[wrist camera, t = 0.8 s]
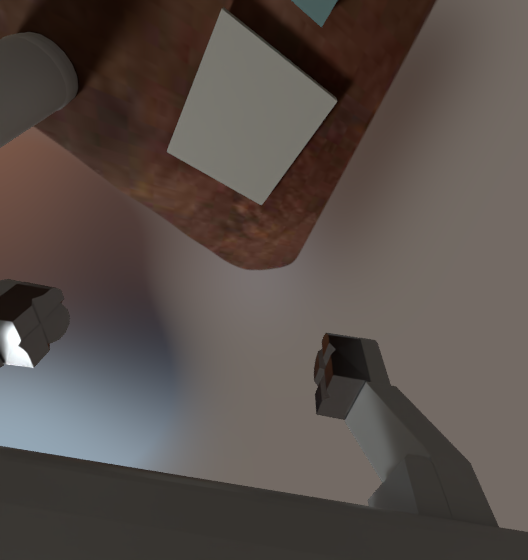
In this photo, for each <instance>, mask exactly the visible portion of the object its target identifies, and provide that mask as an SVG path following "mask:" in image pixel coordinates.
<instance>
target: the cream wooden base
mask: <svg viewBox="0 0 528 560" xmlns="http://www.w3.org/2000/svg"><path fill="white" fill-rule="evenodd" d="M336 103H337V98H336V97H335V96H334V95H333V94H331V93H330V92H329V91H328V90H326V89H325V88H324V87H323V86H321V85H320V84H319V83H318V82H316V81H315V80H314V79H313V78H311V77H310V76H309V75H308V74H306V73H305V72H304V71H303V70H301V69H300V68H299V67H298V66H296V65H295V64H294V63H293V62H291V61H290V60H289V59H288V58H286V57H285V56H284V55H283V54H281V53H280V52H279V51H278V50H276V49H275V48H274V47H273V46H271V45H270V44H269V43H268V42H266V41H265V40H264V39H263V38H262V37H260V36H259V35H258V34H257V33H255V32H254V31H253V30H252V29H250V28H249V27H248V26H247V25H245V24H244V23H243V22H242V21H240V20H239V19H238V18H237V17H235V16H234V15H233V14H232V13H230V12H229V11H228V10H227V9H225V8H224V7H223V8H222V9H221V12H220V15H219V17H218V20H217V22H216V25H215V28H214V30H213V33H212V35H211V38H210V41H209V43H208V46H207V48H206V51H205V54H204V56H203V59H202V61H201V64H200V67H199V69H198V72H197V74H196V77H195V79H194V82H193V85H192V87H191V90H190V92H189V95H188V98H187V100H186V103H185V105H184V108H183V111H182V113H181V116H180V118H179V121H178V124H177V126H176V129H175V131H174V134H173V137H172V139H171V142H170V144H169V147H168V149H167V152H168V153H170V154H172V155H173V156H175V157H177V158H179V159H181V160H182V161H184V162H186V163H188V164H189V165H191V166H193V167H195V168H196V169H198V170H200V171H202V172H203V173H205V174H207V175H209V176H211V177H212V178H214V179H216V180H218V181H219V182H221V183H223V184H225V185H226V186H228V187H230V188H232V189H233V190H235V191H237V192H239V193H241V194H242V195H244V196H246V197H248V198H249V199H251V200H253V201H255V202H256V203H258V204H260V205H262V204H263V203H264V201H265V200H266V199H267V197H268V196H269V195H270V193H271V192H272V190H273V189H274V188H275V186H276V185H277V184H278V182H279V181H280V179H281V178H282V177H283V175H284V174H285V173H286V171H287V170H288V168H289V167H290V166H291V164H292V163H293V162H294V160H295V159H296V157H297V156H298V155H299V153H300V152H301V151H302V149H303V148H304V146H305V145H306V144H307V142H308V141H309V140H310V138H311V137H312V136H313V134H314V133H315V131H316V130H317V129H318V127H319V126H320V125H321V123H322V122H323V120H324V119H325V118H326V116H327V115H328V114H329V112H330V111H331V109H332V108H333V107H334V105H335V104H336Z"/></svg>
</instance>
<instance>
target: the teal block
mask: <svg viewBox="0 0 528 560" xmlns="http://www.w3.org/2000/svg"><path fill="white" fill-rule="evenodd" d="M291 1H293V2H294V3H295V4H296V5H297V6H298V7H299V8H300V9H302V10H303V11H304V12H305V13H306V14H307V15H308V16H309V17H311V18H312V19H313V20H314V21H315V22H316V23H317V24H318V25H320V26H321V27H322V26H323V24H324V22H325V21H326V19H327V17H328V16H329V14H330V12H331V11H332V9H333V7H334V5H335V4H336V2H337V0H291Z"/></svg>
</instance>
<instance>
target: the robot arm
mask: <svg viewBox="0 0 528 560" xmlns="http://www.w3.org/2000/svg"><path fill="white" fill-rule="evenodd" d="M63 300H64V296H63V294H62V291H61V290H60V289H57V288H54V287H48V286H44V285H38V284H33V283H28V282H21V281H15V280H11V279H5V280H1V281H0V367H2V366H4V364H10V365H17V366H24V367H32V368H34V367H35V366H36V365H37V364H38V363H39V361H40V360H41V359H42V358H43V357H44V356H45V355H46V354H47V353H48V352H49V350H50V343H52V342H55V341H57V340H59V339H60V338H61V337H62V336H63V335H64V333H65V332H66V330H67V328H68V325H69V319H70V318H69V317H70V316H69V312H68V310H67V309H66V308H65V307H64V306H63V305H62V304H61V303H62V301H63ZM314 381H315V383H316V384H317V385H318V388H317V390H316V393H315V400H316V414H317V415H322V416H328V417H333V418H338V419H343V420H345V423H346V424H347V426H348V427H349V429H350V431H351V432H352V434H353V436H354V437H355V439H356V440H357V442H358V444H359V445H360V447H361V448H362V450H363V452H364V454H365V455H366V457H367V458H368V460H369V461H370V463H371V465H372V466H373V468H374V470H375V471H376V473H377V474H378V476H379V478H380V479H381V481H382V484H381V485H380V487H379V488H378V489H377V490H376V492H374V494H373V495H372V496H371V497H370V498H369V499H368V504H369V506H364V505H358V504H352V503H346V502H340V501H334V500H328V499H321V498H315V497H309V496H303V495H297V494H291V493H285V492H278V491H272V490H266V489H260V488H254V487H248V486H242V485H236V484H229V483H224V482H218V481H211V480H205V479H199V478H193V477H186V476H181V475H175V474H168V473H163V472H156V471H150V470H144V469H138V468H132V467H125V466H120V465H113V464H107V463H101V462H95V461H89V460H83V459H77V458H71V457H65V456H59V455H52V454H46V453H39V452H34V451H28V450H22V449H15V448H10V447H3V446H0V560H528V532H524V531H517V530H512V529H505V528H500V527H499V526H498V524H497V522H496V519H495V517H494V515H493V513H492V510H491V508H490V506H489V504H488V502H487V499H486V497H485V495H484V492H483V491H482V488H481V486H480V484H479V481H478V479H477V477H476V475H475V472H474V470H473V468H472V466H471V463H470V462H469V461H468V460H467V459H466V458H465V457H464V456H463V455H462V454H461V453H460V452H459V451H458V450H457V449H456V448H455V447H454V446H453V445H452V444H451V443H450V442H449V441H448V439H447V438H446V437H444V435H443V434H442V433H441V432H440V431H439V430H438V429H437V428H436V427H435V426H434V425H433V424H432V423H431V422H430V421H429V420H428V419H427V418H426V417H425V416H424V415H423V414H422V413H421V412H420V411H419V410H418V409H417V408H416V407H415V406H414V405H413V404H412V403H411V401H410V400H409V399H408V398H407V397H406V396H404V394H403V393H402V392H401V391H400V390H399V389H398V388H397V387H395V386H391V384H390V381H389V378H388V375H387V372H386V369H385V365H384V362H383V359H382V356H381V353H380V349H379V346H378V343H377V342H376V341H375V340H371V339H364V338H357V337H350V336H343V335H338V334H331V333H326V334H325V335H324V337H323V339H322V349H321V350H320V351H318V353H317V357H316V361H315V367H314Z"/></svg>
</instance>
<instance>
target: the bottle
mask: <svg viewBox="0 0 528 560" xmlns="http://www.w3.org/2000/svg"><path fill="white" fill-rule="evenodd" d="M77 91H78V79H77V75H76V72H75V70H74V67H73V64H72V63H71V61H70V60H69V59H68V57H67V56H66V54H65V53H64V51H62V50H61V49H60V48H59V47H58V46H57V45H56V44H55V43H54V42H53V41H51V40H50V39H48V38H46V37H44V36H43V35H41V34H37V33H33V32H25V33H17V34H13V35H9V36H6V37H3V38H2V39H0V147H2V146H4V145H5V144H7V143H8V142H10V141H11V140H13V139H14V138H16V137H17V136H19V135H20V134H22V133H23V132H25V131H26V130H28V129H29V128H31V127H33V126H34V125H36V124H37V123H39V122H40V121H42V120H43V119H45V118H46V117H48V116H49V115H51V114H52V113H54V112H55V111H57V110H60V109H62V108H63V107H64V106H66V105H67V104H68V103H69V102H70V101H71V100H72V99H74V98H75V97H76V94H77Z"/></svg>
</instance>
